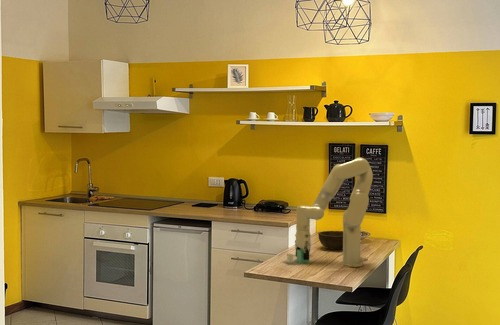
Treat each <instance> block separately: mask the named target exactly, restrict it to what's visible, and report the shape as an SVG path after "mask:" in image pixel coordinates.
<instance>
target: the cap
mask: <svg viewBox="0 0 500 325" xmlns="http://www.w3.org/2000/svg"><path fill="white" fill-rule="evenodd" d="M305 250H306V249H305ZM303 257H304V250H303V249H300V250H297V257H296V260H297V262H299V263H309V262H310V259H309V260H303Z"/></svg>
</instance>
